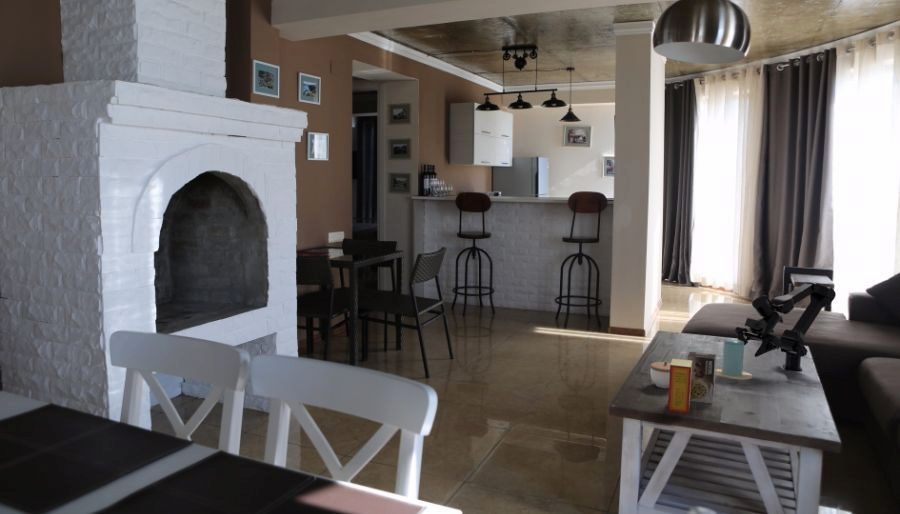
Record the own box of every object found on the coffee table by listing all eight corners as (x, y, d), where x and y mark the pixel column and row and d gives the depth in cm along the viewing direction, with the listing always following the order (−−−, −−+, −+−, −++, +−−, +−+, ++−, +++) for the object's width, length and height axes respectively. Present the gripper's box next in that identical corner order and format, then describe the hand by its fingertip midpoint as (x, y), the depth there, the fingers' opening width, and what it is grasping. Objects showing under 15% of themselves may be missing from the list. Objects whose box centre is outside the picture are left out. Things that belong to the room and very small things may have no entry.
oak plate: (710, 370, 283) (710, 367, 283) (750, 373, 278) (750, 370, 278) (712, 380, 268) (712, 377, 268) (754, 384, 264) (754, 381, 264)
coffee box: (714, 399, 245) (717, 354, 243) (712, 404, 239) (715, 358, 237) (687, 395, 249) (689, 351, 247) (684, 400, 243) (687, 355, 241)
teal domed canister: (725, 370, 278) (727, 338, 277) (744, 373, 274) (746, 341, 272) (719, 374, 273) (721, 341, 271) (738, 377, 268) (740, 344, 267)
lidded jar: (681, 391, 254) (682, 366, 253) (650, 389, 256) (651, 364, 255) (677, 382, 264) (678, 358, 263) (648, 380, 266) (649, 356, 265)
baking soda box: (669, 402, 240) (672, 357, 239) (689, 405, 238) (692, 359, 236) (667, 410, 232) (670, 363, 230) (688, 413, 229) (691, 366, 227)
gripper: (738, 306, 284) (717, 335, 280) (777, 315, 267) (755, 346, 264) (751, 324, 288) (730, 353, 285) (790, 333, 271) (768, 364, 268)
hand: (745, 353), depth 275 cm, fingers open, 9 cm apart
